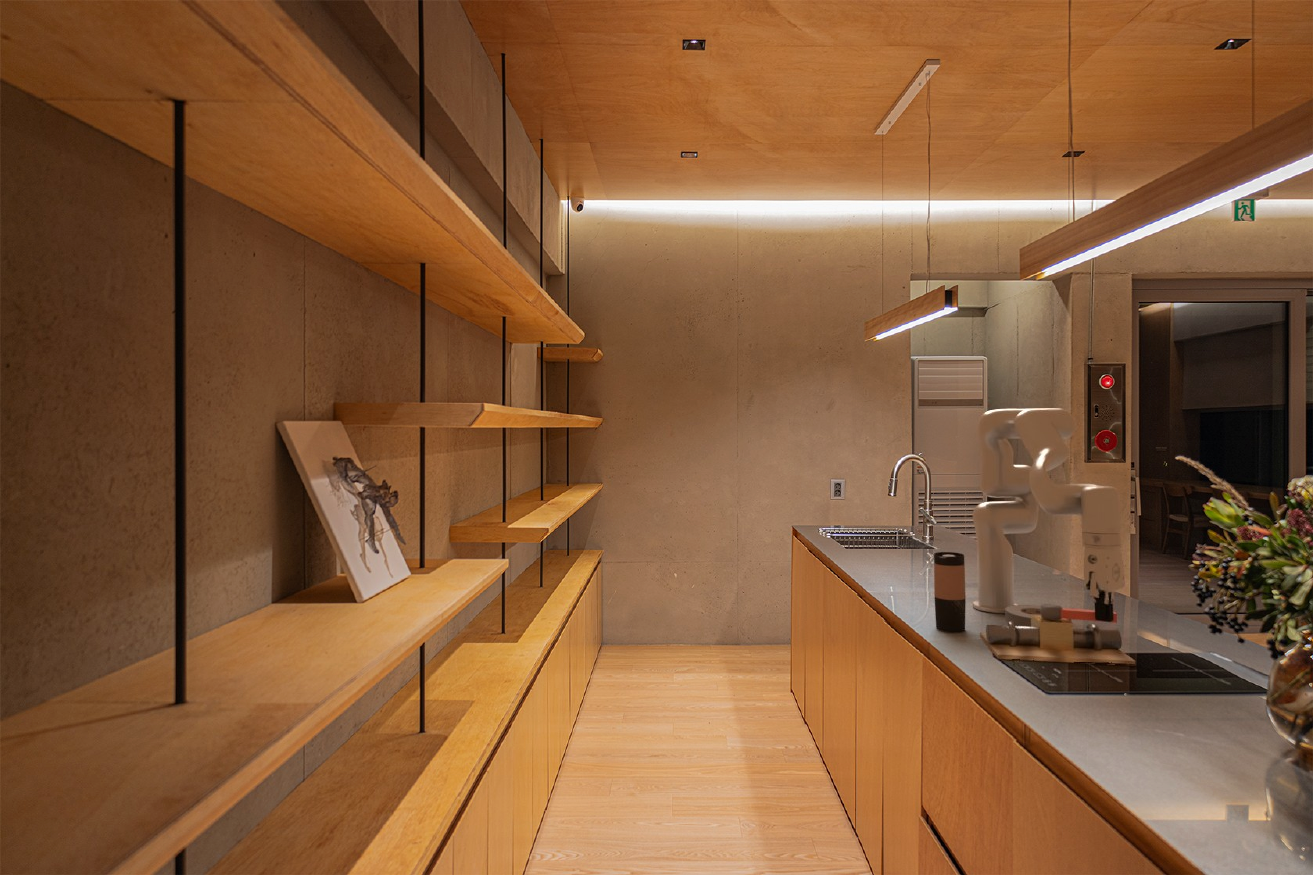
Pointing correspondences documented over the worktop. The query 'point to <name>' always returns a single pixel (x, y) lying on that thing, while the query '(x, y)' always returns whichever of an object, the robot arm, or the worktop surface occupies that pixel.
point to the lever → (1069, 613)
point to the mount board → (1057, 653)
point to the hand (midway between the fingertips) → (1104, 620)
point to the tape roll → (1022, 614)
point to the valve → (1053, 635)
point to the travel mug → (949, 591)
